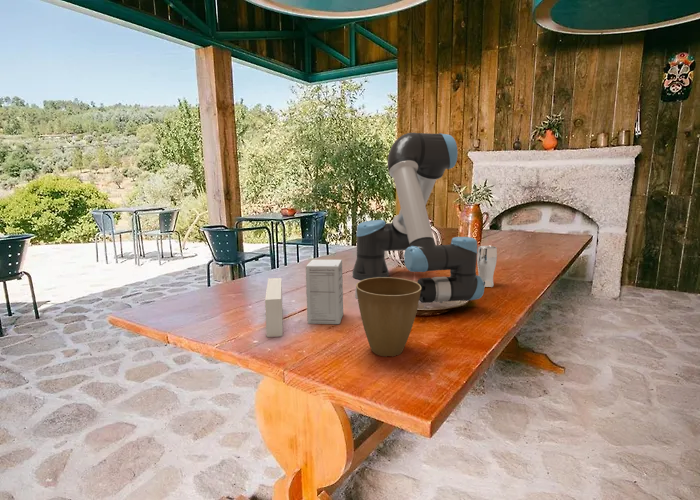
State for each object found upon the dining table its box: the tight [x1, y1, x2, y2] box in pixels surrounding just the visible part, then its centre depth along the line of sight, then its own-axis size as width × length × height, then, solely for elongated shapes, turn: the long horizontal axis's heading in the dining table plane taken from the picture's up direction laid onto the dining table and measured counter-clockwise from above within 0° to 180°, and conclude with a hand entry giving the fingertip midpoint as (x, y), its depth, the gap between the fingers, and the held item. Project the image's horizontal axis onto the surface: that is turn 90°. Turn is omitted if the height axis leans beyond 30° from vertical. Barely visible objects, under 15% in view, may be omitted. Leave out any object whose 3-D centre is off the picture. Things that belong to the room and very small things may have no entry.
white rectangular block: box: [264, 277, 284, 338], centre depth 109 cm, size 4×22×10 cm, turn 10°
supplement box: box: [305, 259, 344, 325], centre depth 111 cm, size 10×9×17 cm
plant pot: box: [355, 276, 421, 357], centre depth 89 cm, size 15×15×16 cm
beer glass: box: [476, 245, 498, 288], centre depth 146 cm, size 7×7×15 cm
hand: (356, 293), depth 112 cm, fingers closed
